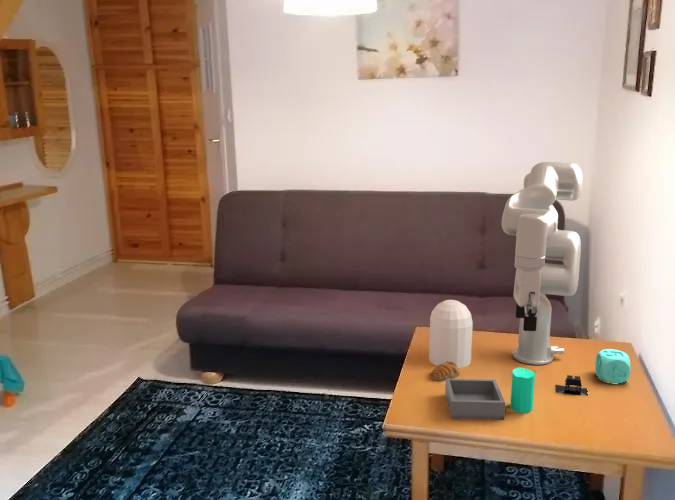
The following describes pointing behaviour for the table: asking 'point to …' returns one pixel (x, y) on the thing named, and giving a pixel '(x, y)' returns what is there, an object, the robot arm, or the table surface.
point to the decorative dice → (612, 366)
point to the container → (450, 334)
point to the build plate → (572, 387)
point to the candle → (522, 390)
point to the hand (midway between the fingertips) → (525, 324)
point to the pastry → (445, 371)
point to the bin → (474, 399)
